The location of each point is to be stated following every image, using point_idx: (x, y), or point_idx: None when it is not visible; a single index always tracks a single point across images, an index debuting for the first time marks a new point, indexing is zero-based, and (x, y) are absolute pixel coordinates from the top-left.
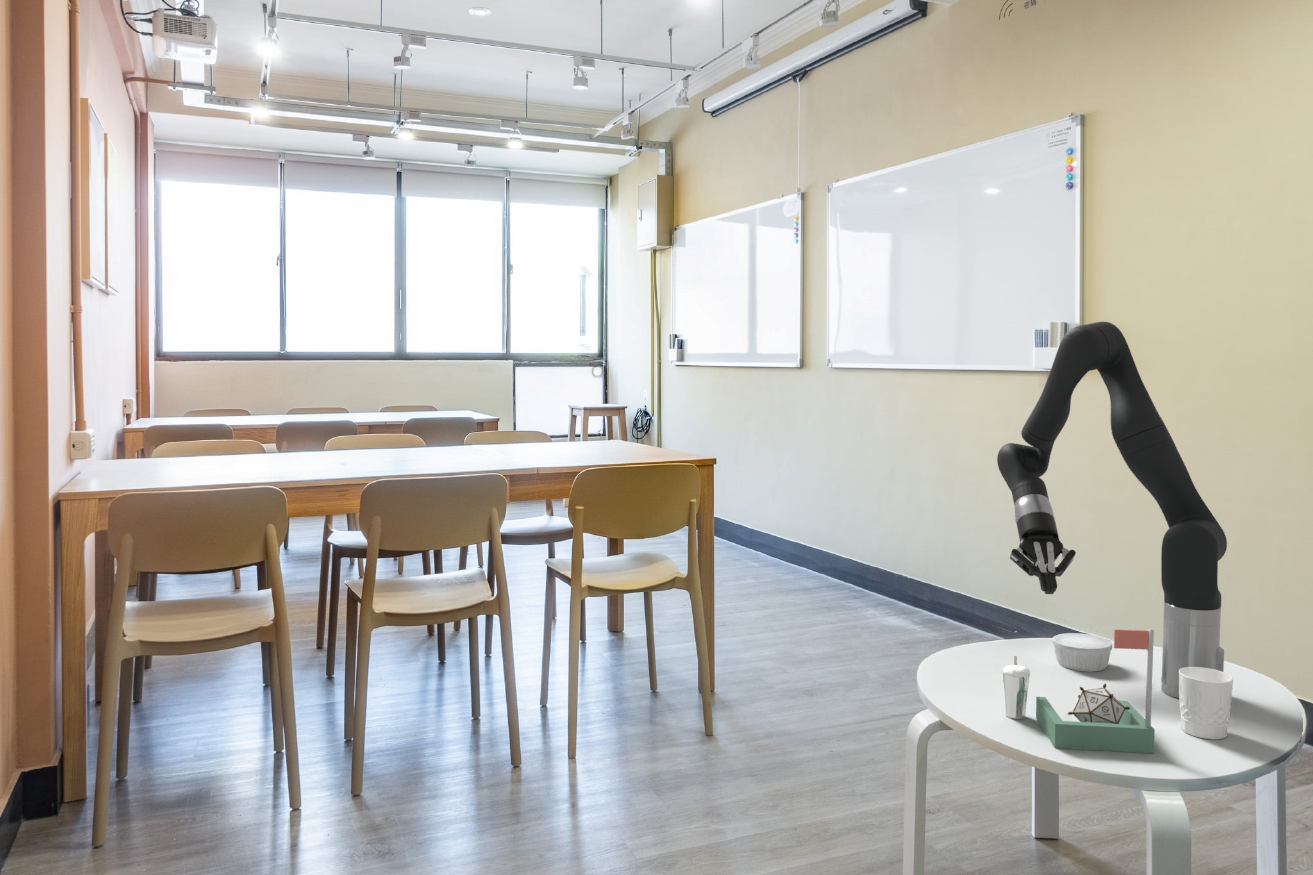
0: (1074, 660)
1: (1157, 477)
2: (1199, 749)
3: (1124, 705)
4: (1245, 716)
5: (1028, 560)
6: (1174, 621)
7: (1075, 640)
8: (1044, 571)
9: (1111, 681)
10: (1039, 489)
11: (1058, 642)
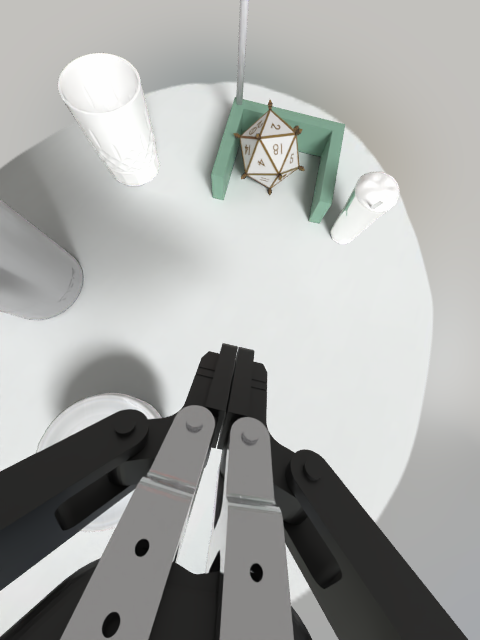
0: (154, 410)
1: None
2: (177, 129)
3: (225, 161)
4: (38, 199)
5: (349, 549)
6: None
7: None
8: (245, 422)
9: (129, 347)
10: None
11: None
